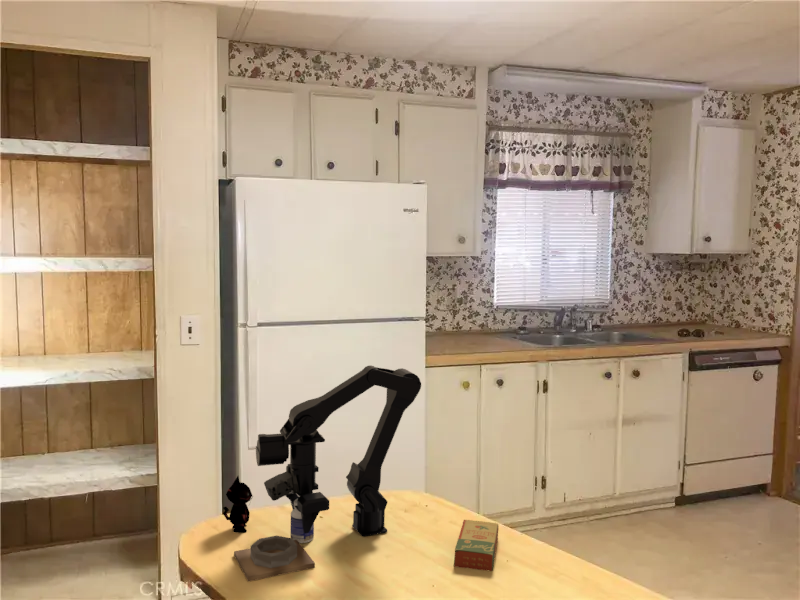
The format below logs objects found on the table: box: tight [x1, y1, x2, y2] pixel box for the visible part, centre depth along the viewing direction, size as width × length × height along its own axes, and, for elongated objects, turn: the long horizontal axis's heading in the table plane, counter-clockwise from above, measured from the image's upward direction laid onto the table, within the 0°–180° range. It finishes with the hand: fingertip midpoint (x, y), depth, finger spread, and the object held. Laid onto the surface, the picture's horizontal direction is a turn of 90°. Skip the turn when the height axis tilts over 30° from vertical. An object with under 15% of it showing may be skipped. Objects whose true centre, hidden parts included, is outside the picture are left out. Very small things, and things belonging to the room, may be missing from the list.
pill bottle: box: [290, 499, 315, 544], centre depth 154 cm, size 5×5×9 cm
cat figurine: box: [222, 475, 254, 534], centre depth 158 cm, size 7×7×12 cm
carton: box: [453, 519, 499, 572], centre depth 149 cm, size 8×16×4 cm, turn 168°
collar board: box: [233, 535, 316, 582], centre depth 143 cm, size 14×12×4 cm
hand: (302, 527), depth 154 cm, fingers closed on pill bottle, 5 cm apart
